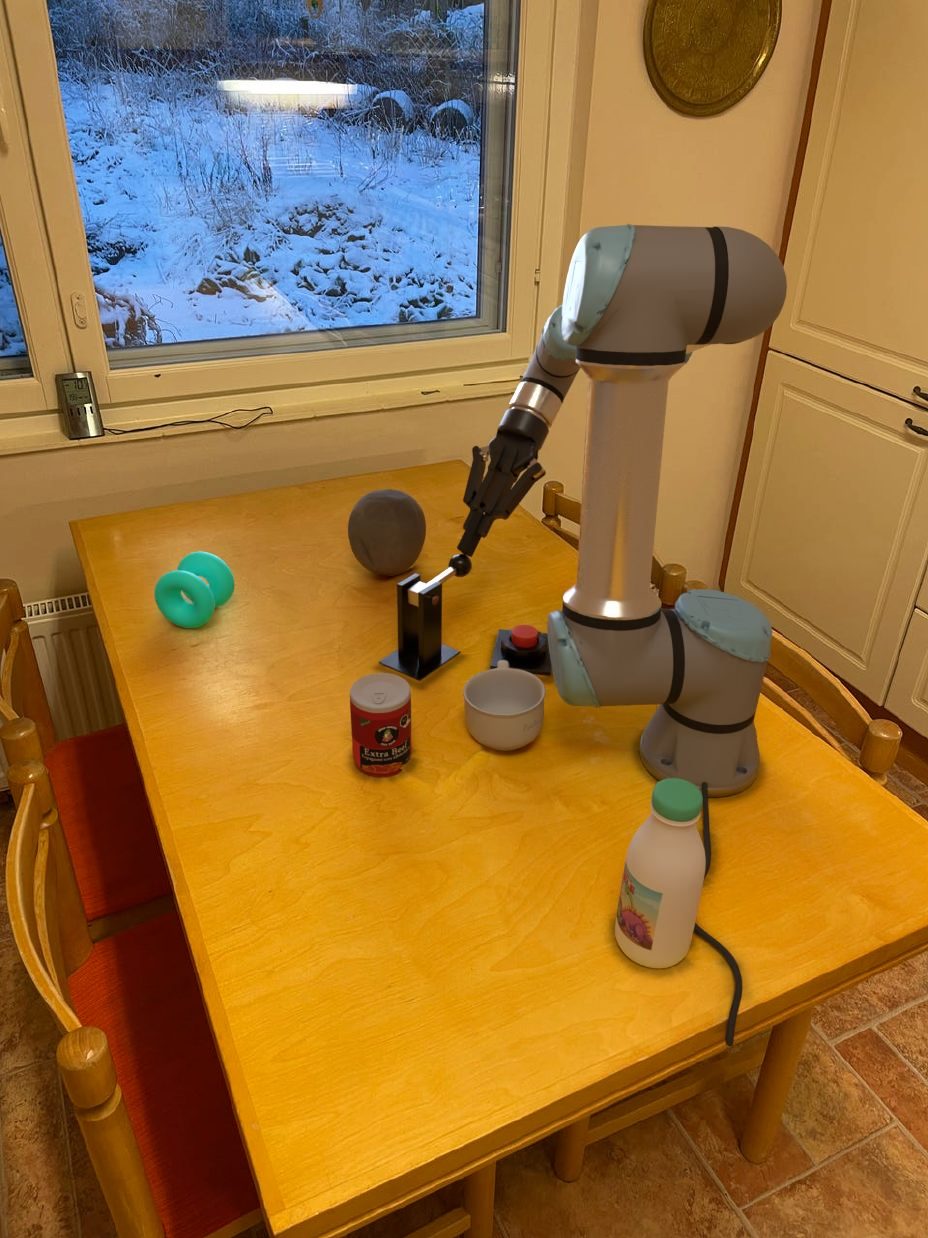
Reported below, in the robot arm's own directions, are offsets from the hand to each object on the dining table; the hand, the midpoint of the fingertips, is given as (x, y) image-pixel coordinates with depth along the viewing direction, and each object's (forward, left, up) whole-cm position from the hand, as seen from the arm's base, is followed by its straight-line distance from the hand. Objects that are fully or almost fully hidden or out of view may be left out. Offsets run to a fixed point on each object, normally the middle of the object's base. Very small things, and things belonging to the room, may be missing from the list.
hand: (464, 552), depth 139 cm
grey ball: (+20, +17, -15) cm, 30 cm away
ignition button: (-6, -10, -11) cm, 17 cm away
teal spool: (-2, +44, -15) cm, 46 cm away
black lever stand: (-10, +5, -15) cm, 18 cm away
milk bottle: (-57, -28, -15) cm, 66 cm away
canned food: (-33, +6, -15) cm, 37 cm away
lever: (-5, +3, -4) cm, 7 cm away
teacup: (-24, -9, -15) cm, 30 cm away
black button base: (-6, -10, -15) cm, 19 cm away
